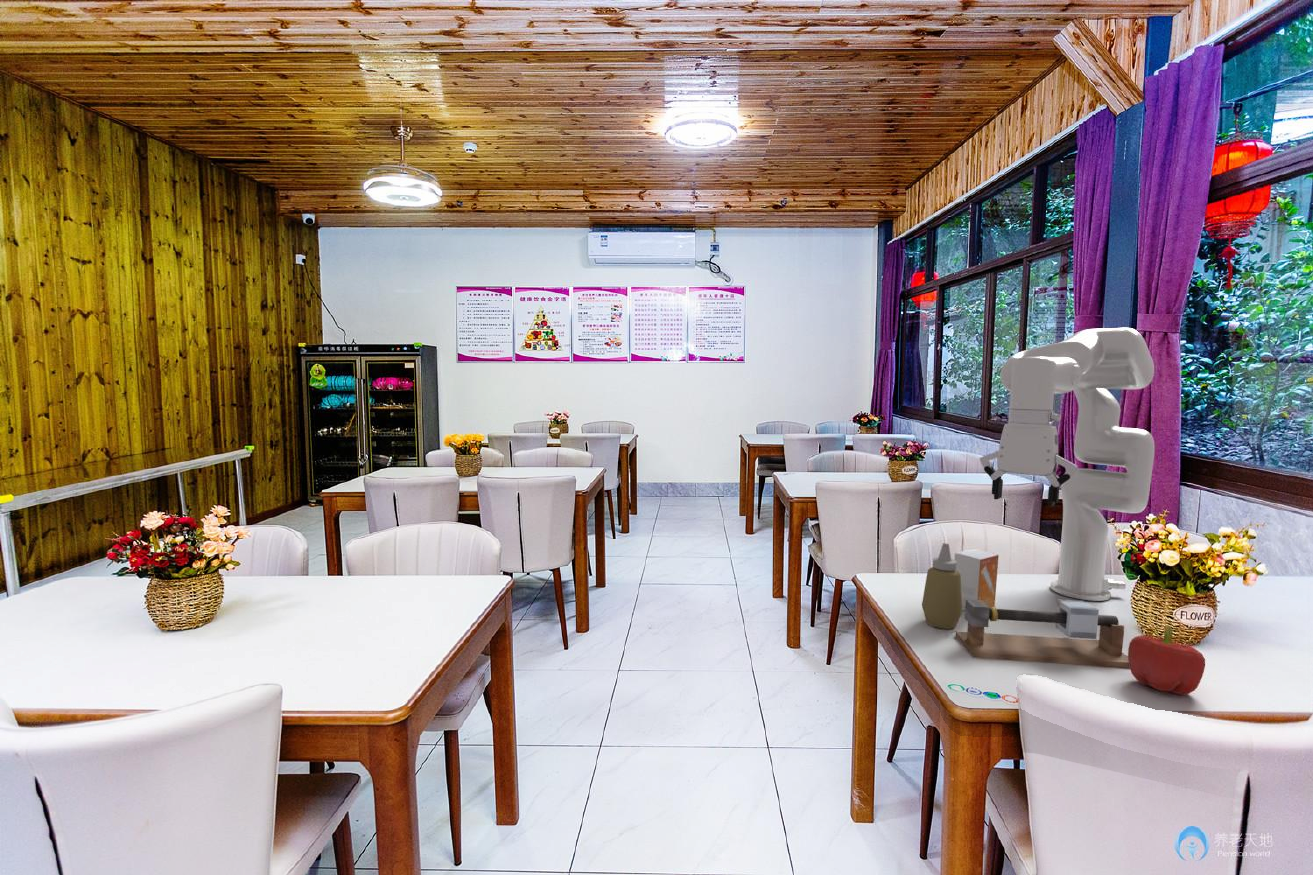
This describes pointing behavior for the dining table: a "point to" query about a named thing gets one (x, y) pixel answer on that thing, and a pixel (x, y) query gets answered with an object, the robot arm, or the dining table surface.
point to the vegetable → (1165, 663)
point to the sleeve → (1078, 619)
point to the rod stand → (1040, 639)
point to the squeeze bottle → (943, 592)
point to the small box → (977, 575)
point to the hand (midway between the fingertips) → (1023, 501)
